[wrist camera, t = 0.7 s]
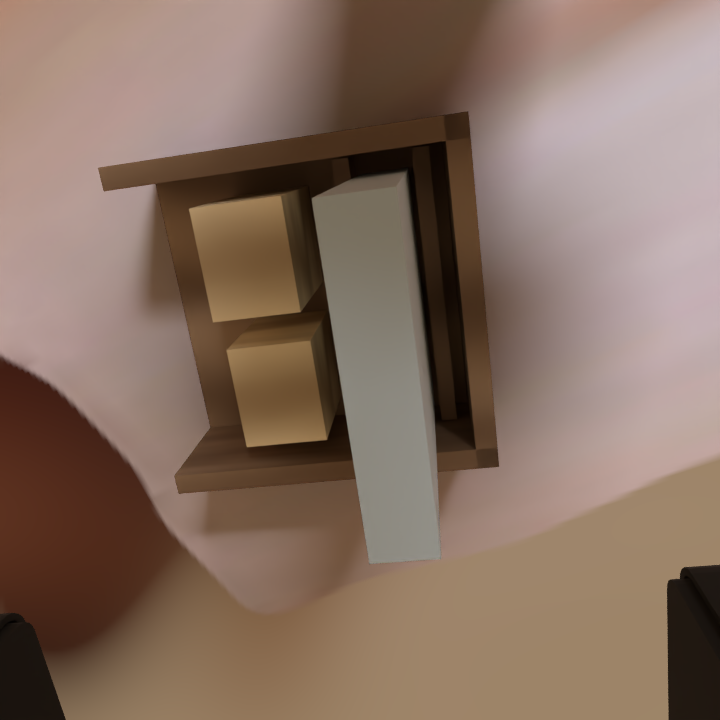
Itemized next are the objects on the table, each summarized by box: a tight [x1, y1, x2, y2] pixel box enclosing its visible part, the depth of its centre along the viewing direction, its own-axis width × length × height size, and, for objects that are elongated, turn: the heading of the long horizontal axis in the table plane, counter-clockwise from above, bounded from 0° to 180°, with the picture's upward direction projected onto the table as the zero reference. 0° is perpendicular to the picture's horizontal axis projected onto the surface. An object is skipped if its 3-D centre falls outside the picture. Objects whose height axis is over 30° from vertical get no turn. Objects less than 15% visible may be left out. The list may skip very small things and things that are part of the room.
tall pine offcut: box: [189, 186, 323, 322], centre depth 32 cm, size 5×4×7 cm
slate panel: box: [312, 168, 441, 564], centre depth 28 cm, size 12×2×16 cm, turn 8°
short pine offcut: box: [227, 310, 341, 447], centre depth 34 cm, size 5×4×6 cm
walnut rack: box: [98, 112, 499, 494], centre depth 34 cm, size 16×16×7 cm
